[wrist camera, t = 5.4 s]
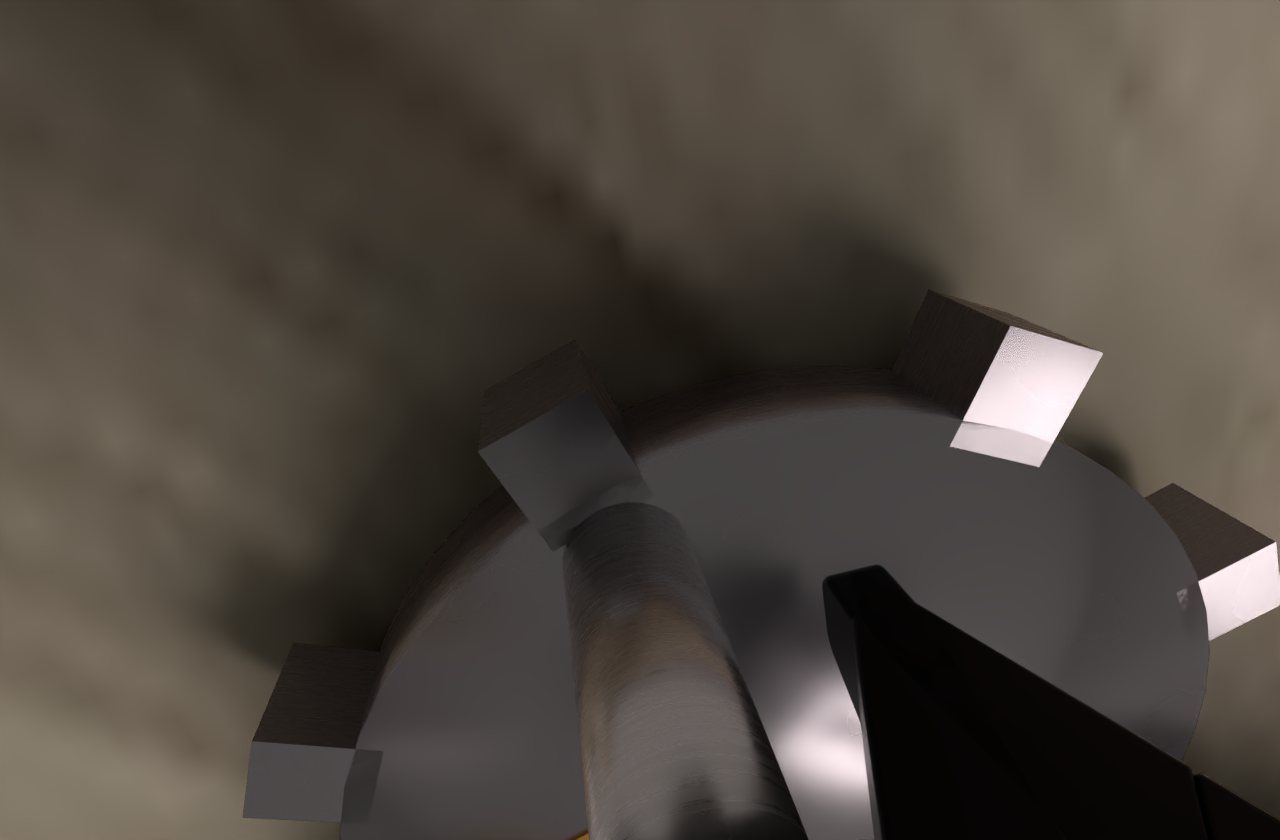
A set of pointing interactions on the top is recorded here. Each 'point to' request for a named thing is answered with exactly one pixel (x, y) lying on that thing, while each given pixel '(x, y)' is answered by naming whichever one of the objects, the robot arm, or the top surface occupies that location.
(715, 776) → the sprocket
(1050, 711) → the robot arm
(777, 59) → the top surface
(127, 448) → the top surface
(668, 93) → the top surface
